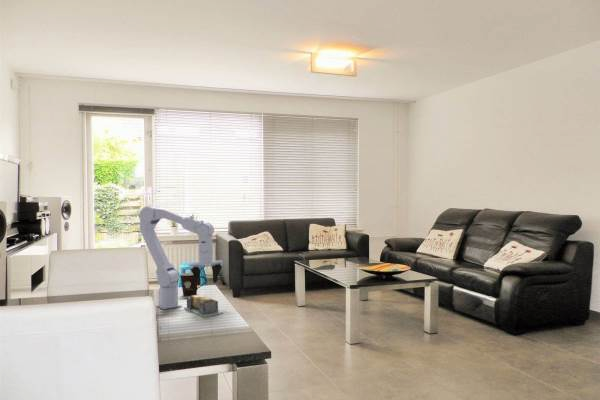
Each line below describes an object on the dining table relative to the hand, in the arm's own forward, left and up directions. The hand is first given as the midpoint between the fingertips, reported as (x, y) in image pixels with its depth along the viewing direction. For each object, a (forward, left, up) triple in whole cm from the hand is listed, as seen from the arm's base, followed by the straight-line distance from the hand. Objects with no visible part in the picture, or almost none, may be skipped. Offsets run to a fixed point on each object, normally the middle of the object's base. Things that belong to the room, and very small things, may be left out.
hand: (206, 283), depth 197 cm
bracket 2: (+12, -5, -10) cm, 16 cm away
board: (+6, -5, -10) cm, 12 cm away
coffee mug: (-30, +6, -10) cm, 32 cm away
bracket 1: (0, -5, -10) cm, 11 cm away
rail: (+6, -5, -8) cm, 12 cm away
